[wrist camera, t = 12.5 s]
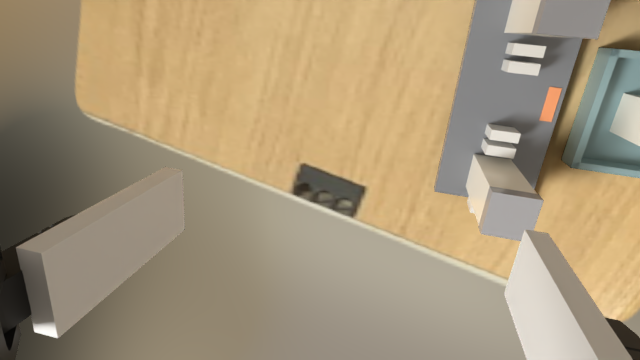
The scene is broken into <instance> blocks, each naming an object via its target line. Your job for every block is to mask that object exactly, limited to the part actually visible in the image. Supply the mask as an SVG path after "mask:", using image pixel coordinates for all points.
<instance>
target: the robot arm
mask: <svg viewBox="0 0 640 360" xmlns="http://www.w3.org/2000/svg"><path fill="white" fill-rule="evenodd" d="M184 230H185V225H184V198H183V173H182V170H181V169H175V168H169V167H164V168H162V169H160V170H159V171H157V172H155V173H153V174H151V175H150V176H148V177H146V178H144V179H142V180H140V181H138V182H136V183H134V184H133V185H131V186H129V187H127V188H125V189H123V190H122V191H120V192H118V193H116V194H114V195H112V196H110V197H108V198H107V199H105V200H103V201H101V202H99V203H97V204H95V205H94V206H92V207H90V208H88V209H86V210H84V211H83V212H81V213H79V214H76V215H73V216H70V217H66V218H64V219H62V220H60V221H58V222H56V223H55V224H52V225H51V227H47V228H45V229H43V230H41V231H40V232H39V233H36V234H34V235H32V236H30V237H28V238H26V239H24V240H22V241H20V242H19V243H17V244H15V245H13V246H11V247H9V248H7V249H5V250H4V251H2V250H1V246H0V360H16V355H17V351H18V346H19V342H20V337H21V330H20V326H19V323H20V322H22V321H23V320H24V319H26V318H27V317H28V316H30V315H31V318H32V323H33V327H34V332H37V333H41V334H44V335H48V336H51V337H55V338H59V337H60V336H61V335H62V334H63V333H65V332H66V331H67V330H68V329H69V328H70V327H72V326H73V325H74V324H75V323H76V322H77V321H78V320H80V319H81V318H82V317H83V316H84V315H86V314H87V313H88V312H89V311H90V310H91V309H93V308H94V307H95V306H96V305H97V304H98V303H100V302H101V301H102V300H103V299H104V298H105V297H107V296H108V295H109V294H110V293H111V292H112V291H114V290H115V289H116V288H117V287H118V286H119V285H121V284H122V283H123V282H124V281H125V280H126V279H128V278H129V277H130V276H131V275H132V274H133V273H135V272H136V271H137V270H138V269H139V268H140V267H142V266H143V265H144V264H145V263H146V262H147V261H148V260H150V259H151V258H152V257H153V256H154V255H155V254H157V253H158V252H159V251H160V250H161V249H163V248H164V247H165V246H166V245H167V244H168V243H169V242H171V241H172V240H173V239H174V238H175V237H176V236H178V235H179V234H180V233H181V232H182V231H184ZM504 295H505V298H506V301H507V304H508V306H509V309H510V312H511V315H512V318H513V321H514V324H515V327H516V330H517V333H518V336H519V339H520V341H521V344H522V347H523V350H524V353H525V356H526V359H527V360H640V338H639V337H638V336H637V335H636V334H635V333H634V332H633V331H632V330H630V329H629V328H628V327H627V326H626V325H624V324H623V323H622V322H621V321H618V320H613V319H608V318H605V317H604V316H603V314H602V313H601V311H600V310H599V308H598V307H597V305H596V304H595V302H594V301H593V299H592V298H591V297H590V295H589V294H588V292H587V291H586V289H585V288H584V286H583V285H582V283H581V282H580V280H579V279H578V277H577V276H576V274H575V273H574V271H573V270H572V268H571V267H570V265H569V264H568V262H567V261H566V259H565V258H564V256H563V255H562V253H561V252H560V250H559V249H558V247H557V246H556V244H555V243H554V241H553V240H552V238H551V237H550V235H549V234H548V233H543V232H537V231H532V230H526V229H525V230H524V233H523V236H522V239H521V242H520V246H519V249H518V252H517V255H516V258H515V261H514V264H513V268H512V271H511V274H510V277H509V280H508V283H507V286H506V289H505V293H504Z"/></svg>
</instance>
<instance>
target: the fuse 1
mask: <svg viewBox="0 0 640 360" xmlns="http://www.w3.org/2000/svg"><path fill="white" fill-rule="evenodd" d="M466 189H467V192H468V195H469V198H470V201H471V204H472V207H473V210H474V213H475V215H476V218H477V221H478V224H479V226H478V227H479V230H480V233H481V234H484V235H489V236H495V237H500V238H506V239H511V240H517V241H521V239H522V236H523V233H524V230H525V229H526V230H532V231H534V228H535V225H536V222H537V219H538V216H539V213H540V210H541V207H542V204H543V201H544V200H543V199H542V198H541V196H540V195H539V194H537V193H536V192H535V190H534V189H533V188H532V186H531V185H530V184H529V182H528V181H527V180H526V178H525V177H524V176H523V175H522V173H521V172H520V171H519V169H518V168H517V167H516V165H515V164H514V163H513V162H512V160H511V159H504V158H498V157H491V156H485V155H478V154H474V155H473V159H472V163H471V167H470V171H469V175H468V179H467V183H466Z"/></svg>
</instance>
